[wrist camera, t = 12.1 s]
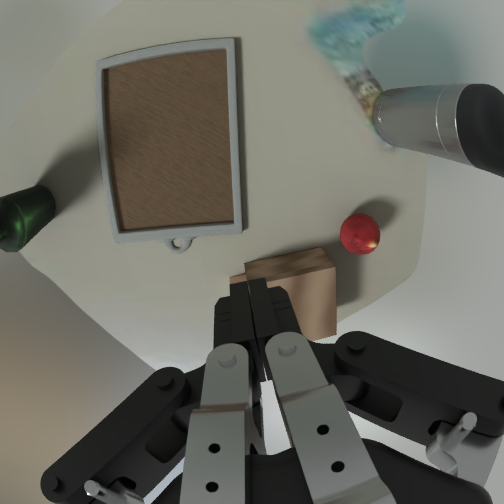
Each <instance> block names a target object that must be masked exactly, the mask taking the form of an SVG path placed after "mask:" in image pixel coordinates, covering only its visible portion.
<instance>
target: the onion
mask: <svg viewBox="0 0 504 504" xmlns="http://www.w3.org/2000/svg"><path fill="white" fill-rule="evenodd" d="M340 239H341V243H342V244H343V246H344V247H345V248H346V249H347V250H348V251H349V252H350V253H353V254H357V255H362V254H369V253H370V252H372V251H374V249H375V248H376V247H377V246H378V243H379V241H380V231H379V228H378V225H377V224H376V222H375V221H374V220H373V219H372V218H371V217H369V216H367V215H365V214H354V215H352V216H350V217H348V218H347V219H346V220H345V221H344V222H343V224H342V226H341V231H340Z"/></svg>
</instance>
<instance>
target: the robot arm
mask: <svg viewBox="0 0 504 504" xmlns="http://www.w3.org/2000/svg"><path fill="white" fill-rule="evenodd" d="M373 121H374V125H375V128H376V130H377V132H378V133H379V135H380V136H381V138H382V139H383V140H384V141H386V142H387V143H388V144H390V145H392V146H396V147H401V148H405V149H409V150H414V151H418V152H422V153H426V154H431V155H434V156H438V157H442V158H446V159H449V160H453V161H456V162H460V163H463V164H466V165H470V166H473V167H476V168H479V169H482V170H485V171H488V172H491V173H494V174H496V175H499V176H501V177H504V94H503V93H502V92H501V91H499V90H498V89H497V88H495V87H494V86H491V85H487V84H449V85H429V86H417V87H407V88H397V89H390V90H386V91H384V92H382V93H381V94H380V95H379V96H378V97H377V99H376V100H375V103H374V106H373ZM248 284H249V288H248ZM249 290H250V292H249ZM214 315H215V317H214V348H213V350H212V351H211V352H210V353H209V355H208V357H207V360H206V363H205V364H204V365H203V366H201V367H199V368H197V369H195V370H192V371H190V372H187V373H185V374H184V373H183V372H182V371H181V370H180V369H178V368H175V367H165V368H162V369H159V370H157V371H156V372H154V373H153V374H152V375H151V376H150V377H149V378H148V379H147V380H145V381H144V383H142V384H141V385H140V386H139V387H138V388H137V389H136V390H135V391H134V392H133V393H132V394H130V396H128V397H127V398H126V399H125V400H124V401H123V402H122V403H121V404H120V405H118V406H117V407H116V408H115V409H114V410H113V411H112V412H111V413H110V414H109V415H108V416H106V418H104V419H103V420H102V421H101V422H100V423H99V424H98V425H97V426H96V427H94V428H93V429H92V430H91V431H90V432H89V433H88V434H87V435H86V436H84V437H83V438H82V439H81V440H80V441H79V442H78V443H76V444H75V445H74V446H73V447H72V448H71V449H70V450H68V451H67V452H66V453H65V454H64V455H63V456H62V457H61V458H59V459H58V460H57V461H56V462H55V463H54V464H53V465H51V466H50V467H49V468H48V469H47V470H46V471H45V472H44V473H43V475H42V478H41V484H40V485H41V490H42V493H43V494H44V496H45V497H46V498H47V499H48V500H49V501H51V502H53V503H55V504H144V500H143V498H144V497H145V496H146V495H147V494H148V493H150V491H152V490H153V489H154V488H155V486H157V484H159V483H160V482H161V481H162V479H164V477H166V475H168V474H169V472H170V471H171V470H172V469H173V468H174V467H175V466H176V465H177V464H178V463H179V462H180V461H181V460H182V459H183V458H184V457H185V460H184V469H183V472H182V473H181V474H179V475H178V476H177V477H176V478H175V479H174V480H173V481H172V482H171V483H170V484H169V485H168V486H167V487H166V488H165V489H164V490H163V492H162V493H161V494H160V495H159V496H158V497H157V498H156V499H155V500H154V501H153V502H152V503H151V504H493V503H492V500H491V497H490V495H489V493H488V492H487V491H486V490H485V489H484V488H483V487H484V485H485V483H486V481H487V478H488V476H489V474H490V471H491V469H492V466H493V464H494V461H495V458H496V455H497V453H498V450H499V447H500V444H501V441H502V437H503V435H504V381H501V380H498V379H495V378H492V377H489V376H486V375H482V374H479V373H476V372H473V371H470V370H467V369H465V368H462V367H459V366H456V365H453V364H450V363H447V362H444V361H441V360H439V359H436V358H433V357H430V356H427V355H425V354H422V353H419V352H416V351H414V350H411V349H408V348H405V347H403V346H400V345H397V344H395V343H392V342H389V341H387V340H384V339H381V338H379V337H376V336H374V335H371V334H369V333H366V332H361V331H352V332H348V333H345V334H343V335H342V336H341V337H339V338H338V340H337V341H336V343H335V344H321V343H315V342H312V341H310V340H308V339H307V338H306V337H304V335H303V334H302V332H301V329H300V326H299V323H298V321H297V318H296V315H295V312H294V309H293V307H292V304H291V301H290V298H289V295H288V292H287V291H286V290H285V289H283V288H282V287H281V286H276V287H271V288H268V287H267V283H266V279H265V277H261V278H256V279H252V280H248V283H247V281H242V282H237V283H232V284H230V296H227V297H222V298H219V300H218V302H217V303H216V305H215V311H214ZM263 364H264V366H263ZM264 368H265V372H266V375H267V379H268V381H269V380H272V381H273V385H274V389H275V393H276V397H277V401H278V404H279V408H280V411H281V414H282V418H283V421H284V425H285V428H286V431H287V434H288V438H289V441H290V445H291V448H289V449H287V450H285V451H282V452H280V453H278V454H275V455H267V453H266V448H265V442H264V428H263V408H262V397H261V394H262V393H261V385H260V382H264V381H266V378H265V372H264ZM348 411H350V412H352V413H354V414H356V415H358V416H360V417H362V418H364V419H366V420H368V421H370V422H372V423H374V424H376V425H379V426H381V427H383V428H385V429H387V430H389V431H391V432H394V433H396V434H398V435H400V436H403V437H405V438H407V439H410V440H412V441H415V442H417V443H420V444H422V445H425V446H426V456H427V458H428V459H429V461H430V462H431V463H432V464H434V465H436V466H437V467H439V468H440V470H438V469H436V468H434V467H431V466H429V465H427V464H424V463H422V462H420V461H417V460H415V459H413V458H411V457H409V456H407V455H405V454H403V453H400V452H398V451H396V450H394V449H392V448H390V447H388V446H386V445H384V444H382V443H380V442H377V441H374V440H370V439H364V438H361V437H360V435H359V433H358V431H357V429H356V427H355V425H354V423H353V421H352V419H351V417H350V415H349V412H348Z"/></svg>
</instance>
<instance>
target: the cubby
mask: <svg viewBox="0 0 504 504" xmlns="http://www.w3.org/2000/svg"><path fill="white" fill-rule="evenodd" d="M244 265H245V272H246V279H247V283H248V280H252V279H256V278H261V277H265V279H266V283H267V287H268V288H271V287H276V286H281V287H282V288H283V289H285V290H286V291H287V292H288V295H289V298H290V301H291V304H292V307H293V309H294V312H295V315H296V318H297V321H298V323H299V326H300V329H301V332H302V334H303V335H304V337H306V338H307V339H308V340H310V341H315V340H318V339H322V338H326V337H330V336H333V335H336V327H337V303H336V267H335V265H334V264H333V263H332V261H331V260H330V258H329V257H328V256H327V254H326V253H325V252H324V250H323V249H322V248H321V247H319V248H314V249H310V250H305V251H300V252H296V253H291V254H286V255H282V256H277V257H272V258H268V259H263V260H258V261H253V262H248V263H244ZM248 288H249V284H248ZM249 292H250V290H249Z"/></svg>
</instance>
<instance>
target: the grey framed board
mask: <svg viewBox="0 0 504 504" xmlns="http://www.w3.org/2000/svg"><path fill="white" fill-rule="evenodd" d="M95 92H96V118H97V132H98V144H99V153H100V162H101V170H102V177H103V184H104V190H105V196H106V202H107V208H108V213H109V218H110V223H111V228H112V233H113V237H114V241H115V243H125V242H136V241H148V240H156V241H158V242H162V243H163V244H164V246H165V247H166V248H167V249H168V250H169V251H171V252H173V253H182V252H184V251H185V250H187V249H188V247H189V246H190V244H191V240H192V239H194V238H196V237H199V236H213V235H227V234H241V233H242V232H243V228H242V207H241V186H240V163H239V140H238V115H237V89H236V61H235V39H234V38H219V39H206V40H196V41H187V42H180V43H173V44H167V45H161V46H155V47H150V48H145V49H141V50H136V51H132V52H128V53H124V54H120V55H116V56H113V57H109V58H106V59H102V60H99V61H97V62H96V69H95ZM175 238H176V239H178V240H181V241H182V246H181V247H180V248H176V247H174V246H173V243H172V240H174V239H175Z"/></svg>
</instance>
